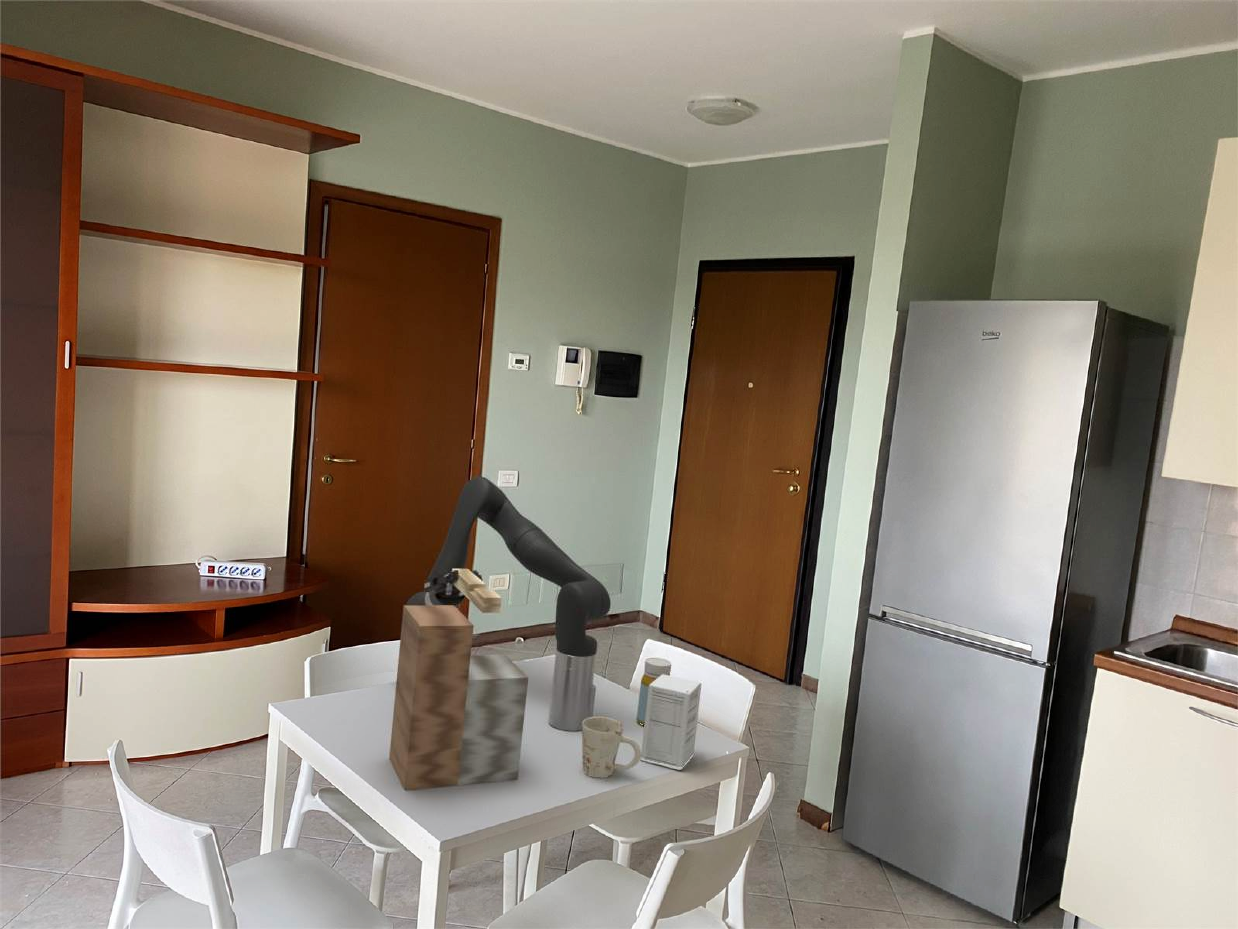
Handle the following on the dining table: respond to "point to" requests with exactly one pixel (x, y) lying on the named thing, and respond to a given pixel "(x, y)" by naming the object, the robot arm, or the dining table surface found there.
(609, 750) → the mug
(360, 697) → the dining table surface
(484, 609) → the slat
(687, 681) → the supplement box
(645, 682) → the bottle
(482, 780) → the step shelf
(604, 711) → the dining table surface
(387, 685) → the dining table surface
